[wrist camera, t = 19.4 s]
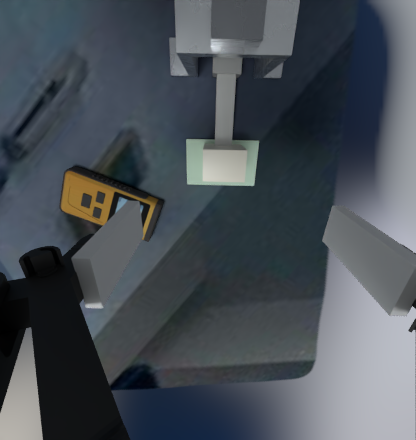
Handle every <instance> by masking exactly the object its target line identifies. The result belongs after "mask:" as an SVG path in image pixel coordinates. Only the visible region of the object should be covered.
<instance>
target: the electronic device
mask: <svg viewBox="0 0 416 440" xmlns="http://www.w3.org/2000/svg"><path fill="white" fill-rule="evenodd" d="M127 201H139V202H140V211H141V219H142V227H143V235H144V236H143V238H142V240H145V241H147V242H148V241H149V240H150V238H151V236H152V234H153V231H154V228H155V225H156V223H157V220H158V217H159V214H160V211H161V209H162V206H163V203H164V201H162V200H159V199H156V198H154V197H151V196H149V195H148V194H146V193H144V192H141V191H139V190H136V189H133V188H132V187H128V186H126V185H124V184H121V183H119V182H116V181H113V180H111V179H108V178H106V177H103V176H101V175H98V174H95V173H93V172H90V171H88V170H85V169H82V168H80V167H72V168H69V169H67V170H66V171H65V172H64V177H63V184H62V191H61V199H60V209H61V211H62V212H64V213H66V214H69V215H72V216H75V217H77V218H80V219H83V220H86V221H89V222H91V223H94V224H97V225H100V226H103V225H104V224H105V223H106V222H107V221H108V220H109V219H110V218H111V217H112V216H113V215H114V214H115V213H116V212H117V211H118V210H119V209H120V208H121V207H122V206H123V205H124V204H125V203H126V202H127Z"/></svg>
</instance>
